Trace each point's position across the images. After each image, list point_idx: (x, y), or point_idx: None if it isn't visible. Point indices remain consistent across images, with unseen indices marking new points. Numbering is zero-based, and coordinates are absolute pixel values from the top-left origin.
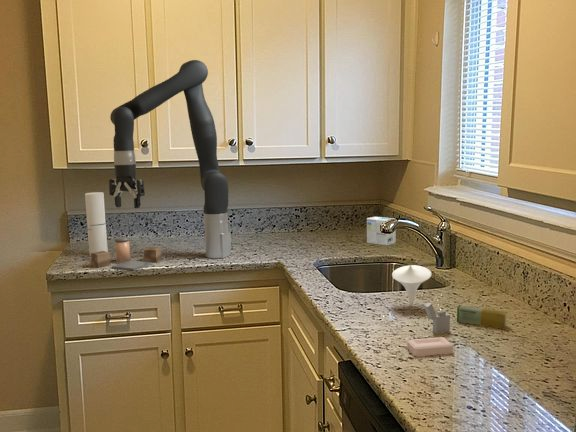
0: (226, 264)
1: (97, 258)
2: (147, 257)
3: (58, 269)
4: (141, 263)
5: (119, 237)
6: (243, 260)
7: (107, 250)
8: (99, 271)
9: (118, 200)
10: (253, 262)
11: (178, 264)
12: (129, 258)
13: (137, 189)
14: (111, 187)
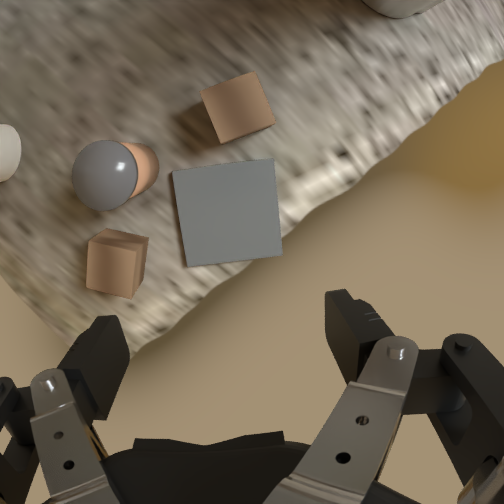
0: (469, 77)
1: (134, 293)
2: (236, 138)
3: (72, 337)
4: (252, 187)
5: (79, 171)
6: (472, 28)
7: (9, 131)
8: (186, 307)
9: (106, 380)
10: (498, 46)
11: (359, 117)
12: (154, 158)
13: (454, 458)
14: (21, 495)
